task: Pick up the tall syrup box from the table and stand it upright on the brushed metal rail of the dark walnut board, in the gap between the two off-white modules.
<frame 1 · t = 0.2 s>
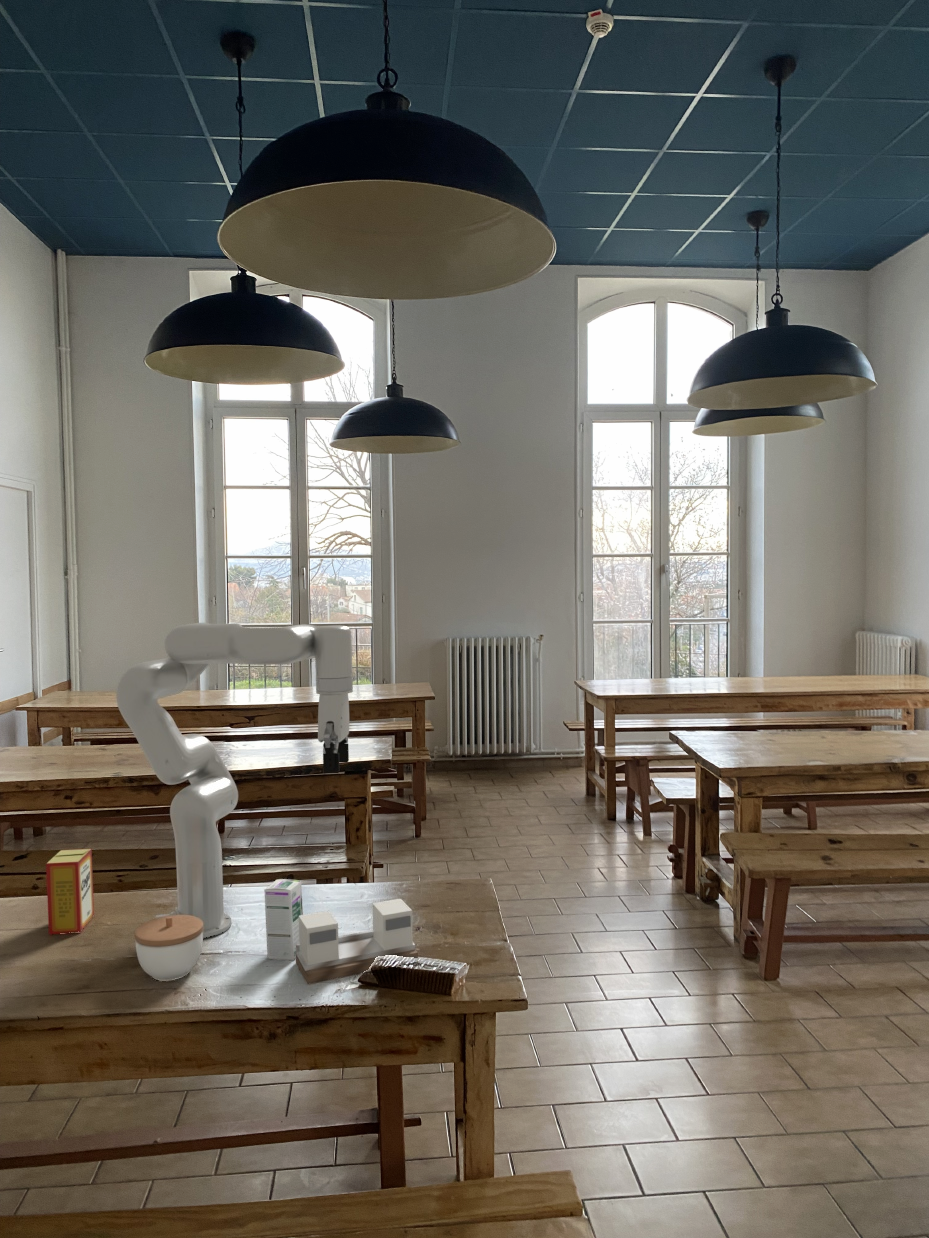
hand: (336, 767, 183), 36 cm above the table, tool pointing down, fingers open, 9 cm apart
mounted modules: (356, 930, 173), point 6 cm above the table
baking soda box: (72, 926, 195), on the table
rail board: (356, 962, 174), on the table
lidded bowl: (170, 974, 171), on the table
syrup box: (285, 955, 178), on the table
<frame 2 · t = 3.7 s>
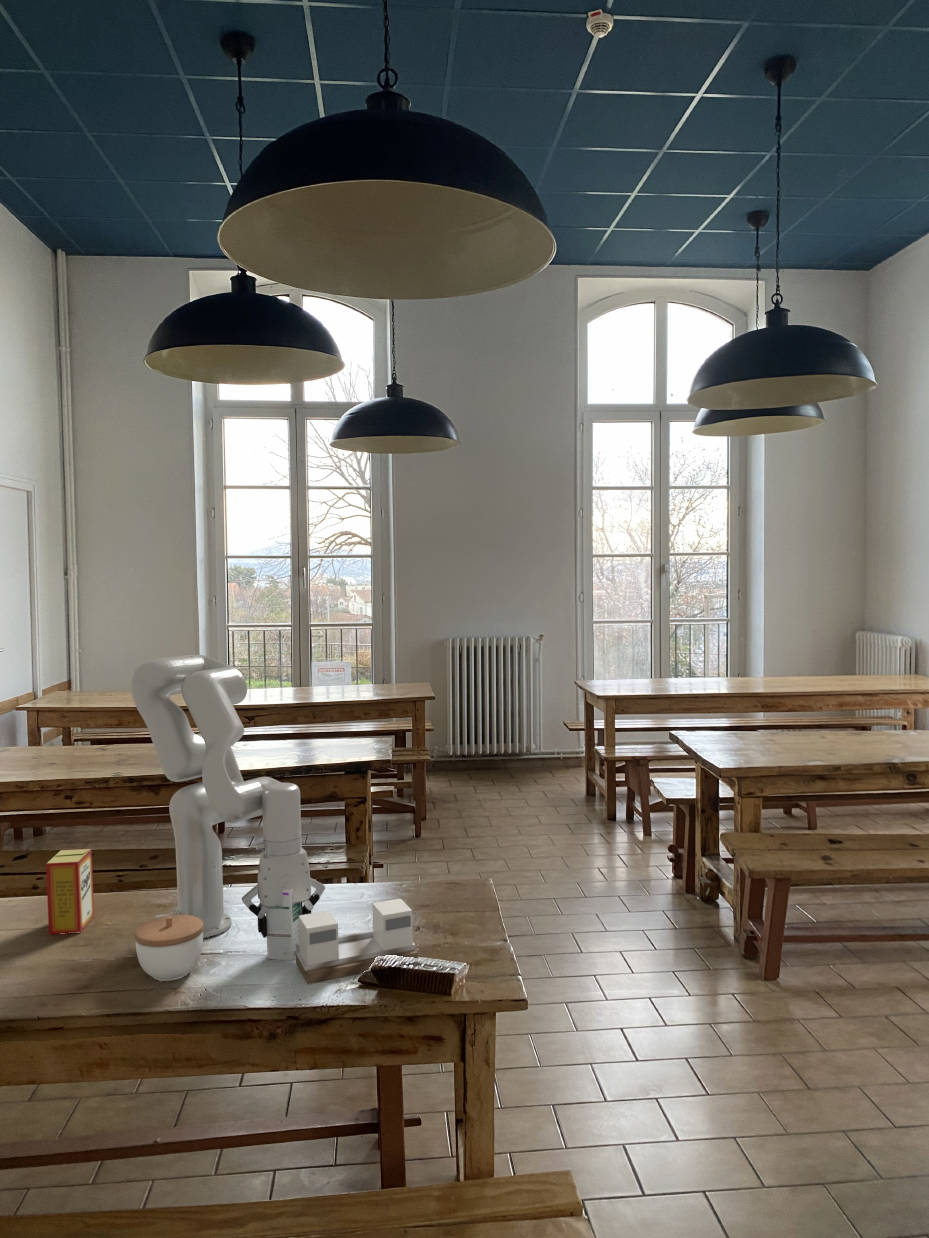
hand: (285, 930, 178), 5 cm above the table, tool pointing down, fingers closed on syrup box, 8 cm apart
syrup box: (285, 955, 178), on the table, touching gripper
everything else where it was.
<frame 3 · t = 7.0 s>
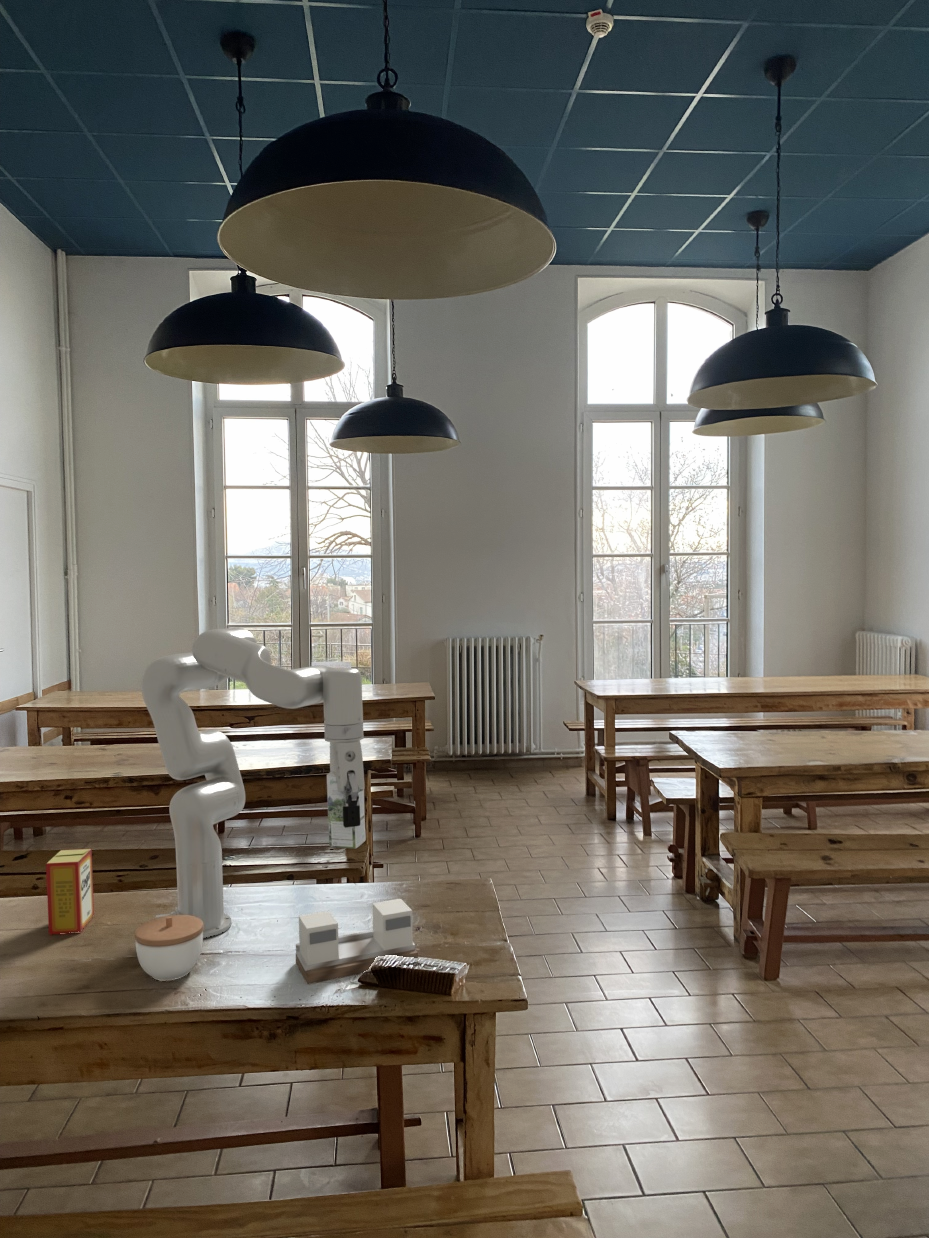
hand: (346, 820, 173), 28 cm above the table, tool pointing down, fingers closed on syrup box, 7 cm apart
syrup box: (347, 845, 173), point 23 cm above the table, touching gripper
everything else where it was.
when the fingers open (9 cm above the table, at t = 10.6 s): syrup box stays where it is, resting on rail board.
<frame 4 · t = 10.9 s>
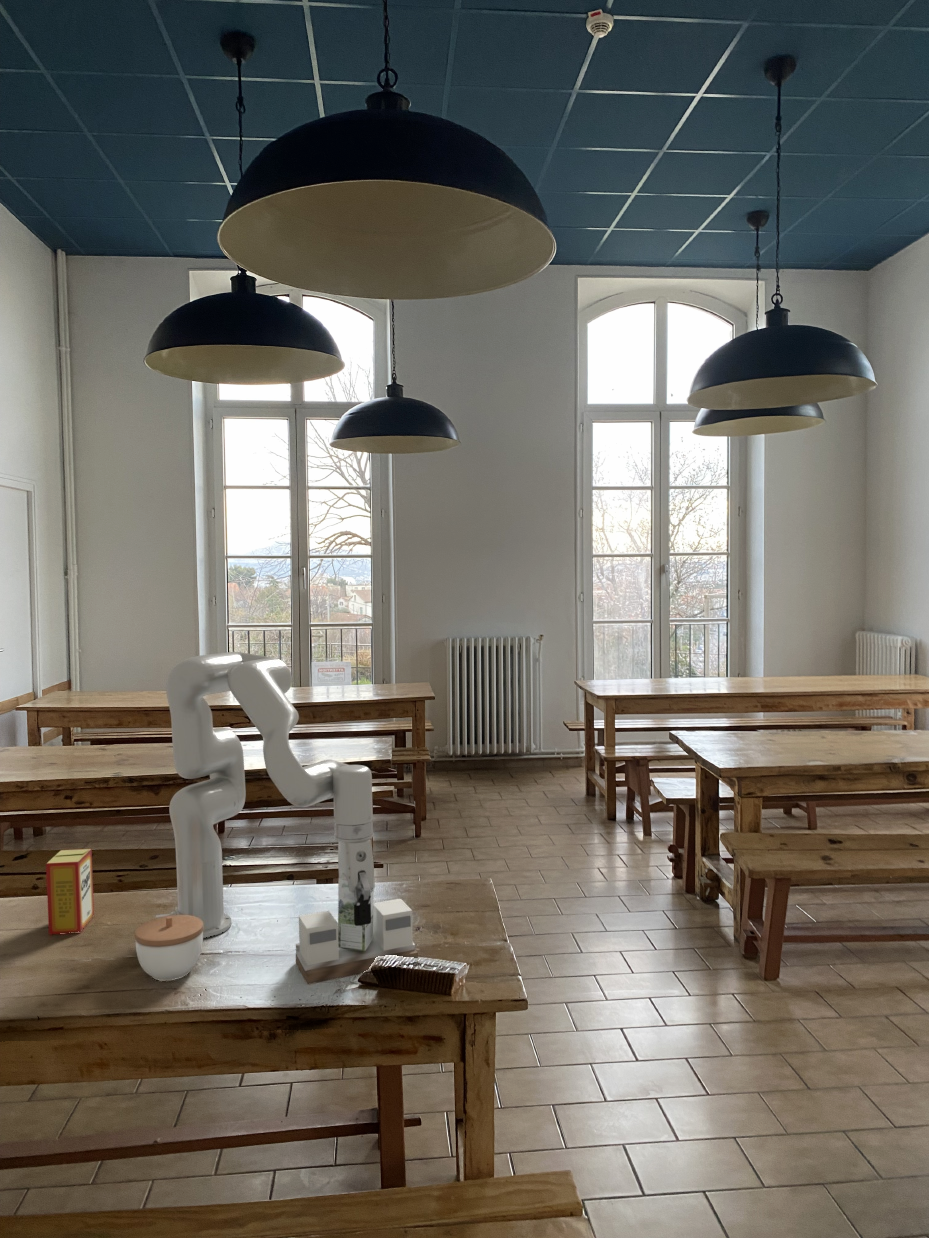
hand: (355, 915, 173), 10 cm above the table, tool pointing down, fingers open, 9 cm apart
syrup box: (355, 944, 174), point 4 cm above the table, touching gripper, rail board
everything else where it was.
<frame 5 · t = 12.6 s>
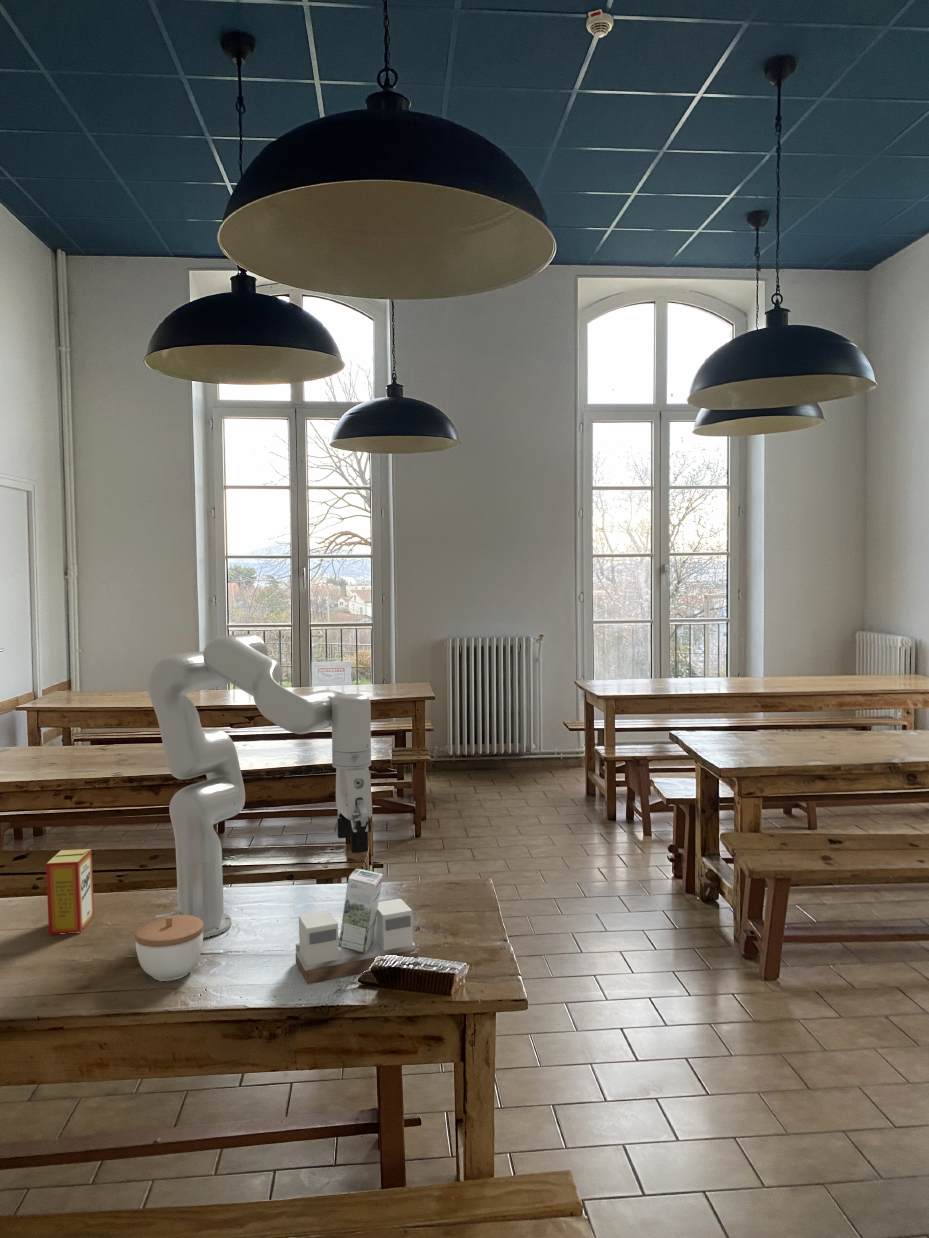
hand: (352, 844, 173), 24 cm above the table, tool pointing down, fingers open, 9 cm apart
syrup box: (355, 945, 174), point 3 cm above the table, touching rail board
everything else where it was.
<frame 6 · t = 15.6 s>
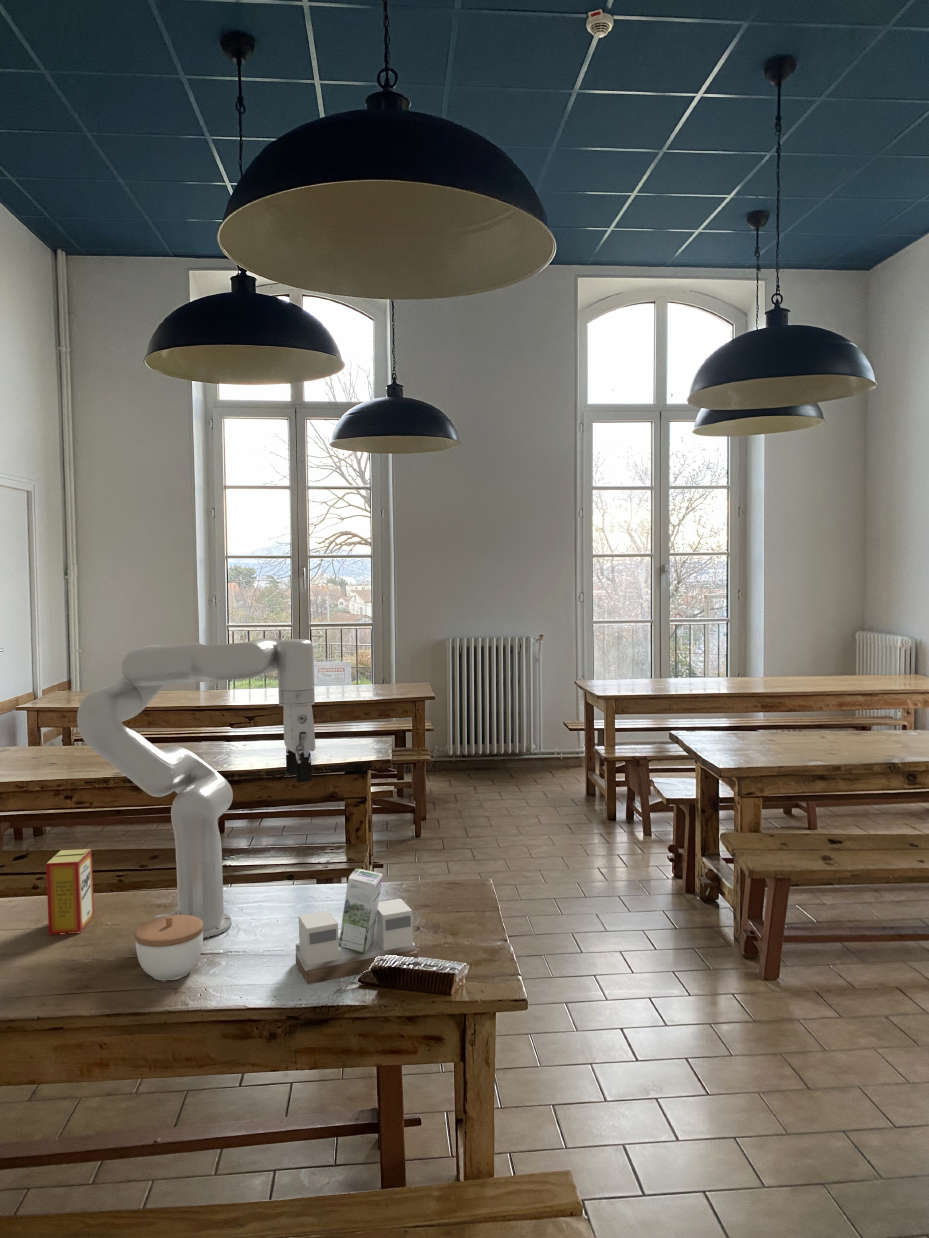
hand: (298, 776, 189), 33 cm above the table, tool pointing down, fingers open, 9 cm apart
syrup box: (355, 945, 174), point 3 cm above the table, touching mounted modules, rail board
everything else where it was.
at the end: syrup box 0.2 cm off-centre on the rail board, point 3.3 cm above the rail board's base; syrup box tilted 10°; the gripper is holding nothing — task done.
